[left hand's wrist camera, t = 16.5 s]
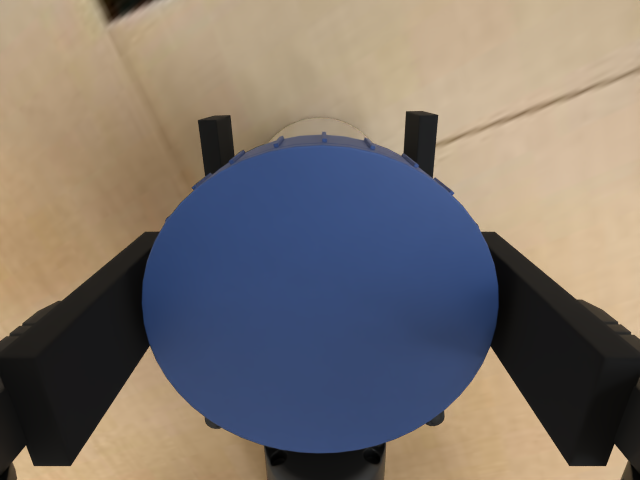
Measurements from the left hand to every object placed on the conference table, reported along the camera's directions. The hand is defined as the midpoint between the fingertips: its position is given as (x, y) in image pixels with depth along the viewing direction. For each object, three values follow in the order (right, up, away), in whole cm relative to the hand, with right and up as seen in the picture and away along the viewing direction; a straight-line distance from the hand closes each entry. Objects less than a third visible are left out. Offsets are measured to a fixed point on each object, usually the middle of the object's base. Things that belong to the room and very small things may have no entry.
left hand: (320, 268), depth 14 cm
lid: (0, -1, -3) cm, 3 cm away
